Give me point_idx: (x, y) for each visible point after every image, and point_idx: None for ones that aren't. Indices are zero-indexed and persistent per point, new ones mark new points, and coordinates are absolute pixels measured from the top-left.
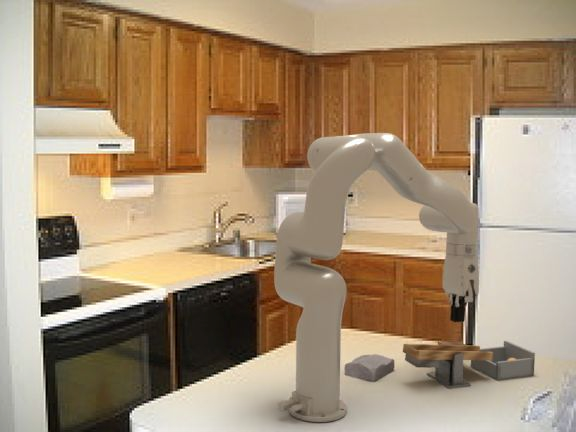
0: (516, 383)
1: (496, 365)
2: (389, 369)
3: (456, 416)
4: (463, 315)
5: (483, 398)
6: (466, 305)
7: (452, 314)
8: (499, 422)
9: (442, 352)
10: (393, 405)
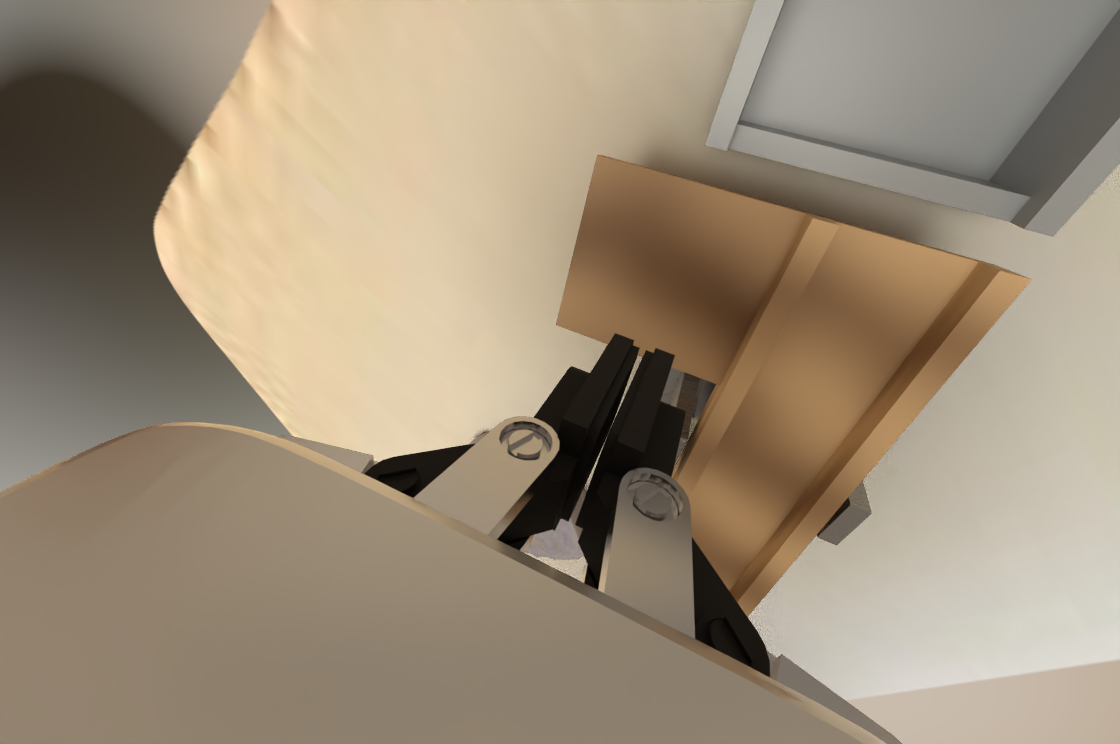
0: None
1: (1016, 222)
2: None
3: (975, 622)
4: (680, 426)
5: (1011, 462)
6: (687, 504)
7: (593, 465)
8: None
9: (778, 574)
10: (757, 618)
